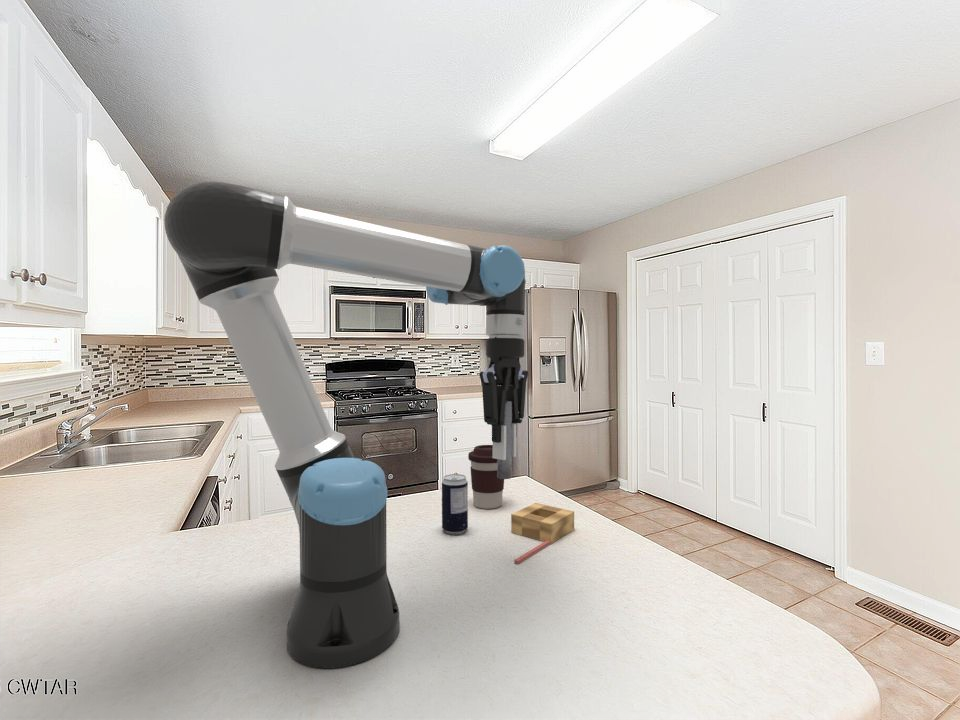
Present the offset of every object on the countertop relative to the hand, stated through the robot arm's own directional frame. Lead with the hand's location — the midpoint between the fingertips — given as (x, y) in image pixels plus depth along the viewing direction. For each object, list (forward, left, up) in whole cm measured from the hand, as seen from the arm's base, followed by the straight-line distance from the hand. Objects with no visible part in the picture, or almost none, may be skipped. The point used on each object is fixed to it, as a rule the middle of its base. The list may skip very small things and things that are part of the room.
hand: (504, 457), depth 93 cm
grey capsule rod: (0, 0, -4) cm, 4 cm away
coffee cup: (+21, +20, -19) cm, 35 cm away
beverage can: (+2, +15, -19) cm, 24 cm away
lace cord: (+3, -5, -19) cm, 20 cm away
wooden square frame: (+14, 0, -19) cm, 24 cm away
